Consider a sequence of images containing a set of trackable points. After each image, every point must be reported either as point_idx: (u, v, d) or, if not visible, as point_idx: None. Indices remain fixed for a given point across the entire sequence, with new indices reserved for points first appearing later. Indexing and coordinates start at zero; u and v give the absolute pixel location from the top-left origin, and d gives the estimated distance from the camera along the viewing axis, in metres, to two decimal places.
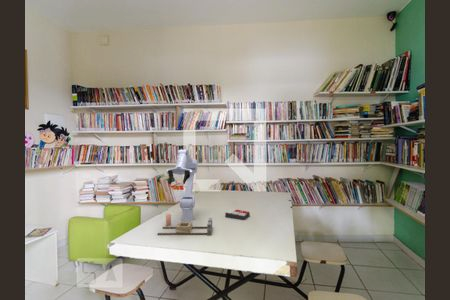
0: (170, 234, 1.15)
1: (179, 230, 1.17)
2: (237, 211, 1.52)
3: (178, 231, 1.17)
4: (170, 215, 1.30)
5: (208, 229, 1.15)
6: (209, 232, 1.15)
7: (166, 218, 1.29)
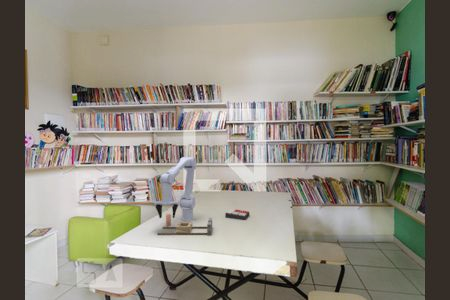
0: (170, 234, 1.15)
1: (179, 230, 1.17)
2: (237, 211, 1.52)
3: (178, 231, 1.17)
4: (170, 215, 1.30)
5: (208, 229, 1.15)
6: (209, 232, 1.15)
7: (166, 218, 1.29)
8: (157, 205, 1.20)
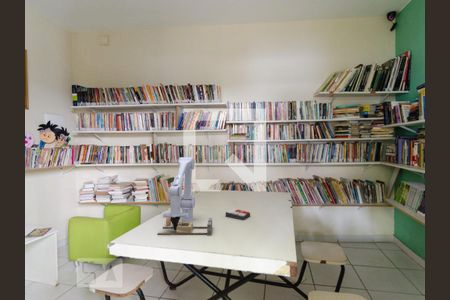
0: (170, 234, 1.15)
1: (179, 230, 1.17)
2: (237, 211, 1.52)
3: (179, 231, 1.17)
4: None
5: (208, 229, 1.15)
6: (209, 232, 1.15)
7: (166, 218, 1.29)
8: (172, 217, 1.20)
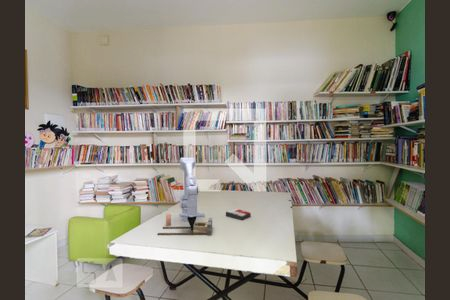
0: (170, 234, 1.15)
1: (196, 230, 1.17)
2: (238, 211, 1.52)
3: (196, 231, 1.16)
4: (170, 215, 1.30)
5: (208, 229, 1.15)
6: (209, 232, 1.15)
7: (166, 218, 1.29)
8: (189, 217, 1.20)
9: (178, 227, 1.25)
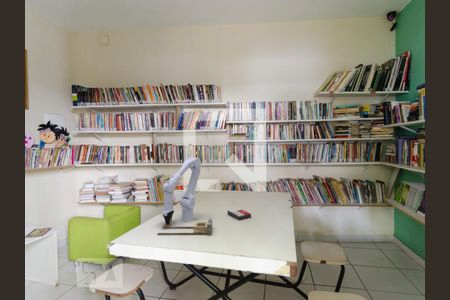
0: (170, 234, 1.15)
1: (196, 230, 1.17)
2: (239, 211, 1.53)
3: (196, 231, 1.16)
4: None
5: (208, 229, 1.15)
6: (209, 232, 1.15)
7: None
8: None
9: (178, 227, 1.25)
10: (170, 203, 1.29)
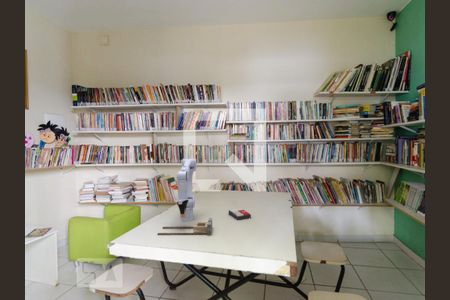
0: (170, 234, 1.15)
1: (196, 230, 1.17)
2: (240, 211, 1.53)
3: (196, 231, 1.16)
4: None
5: (208, 229, 1.15)
6: (209, 232, 1.15)
7: None
8: None
9: (178, 227, 1.25)
10: (185, 192, 1.24)
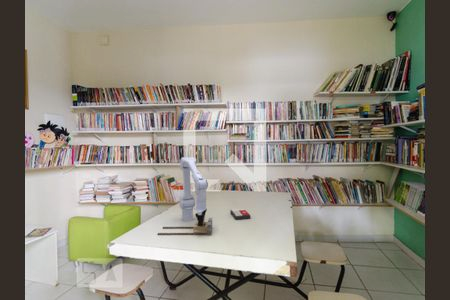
0: (170, 234, 1.15)
1: (196, 230, 1.17)
2: (240, 211, 1.53)
3: (196, 231, 1.16)
4: None
5: (208, 229, 1.15)
6: (209, 232, 1.15)
7: None
8: None
9: (178, 227, 1.25)
10: (204, 201, 1.18)
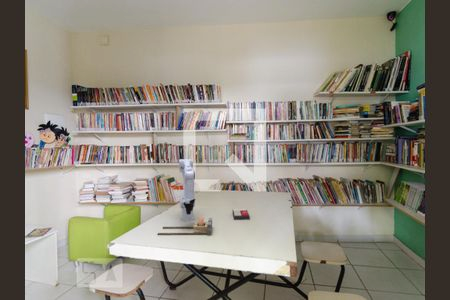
0: (170, 234, 1.15)
1: (196, 230, 1.17)
2: (241, 211, 1.52)
3: (196, 231, 1.16)
4: (203, 218, 1.20)
5: (208, 229, 1.15)
6: (209, 232, 1.15)
7: (199, 221, 1.19)
8: None
9: (178, 227, 1.25)
10: (192, 191, 1.25)
